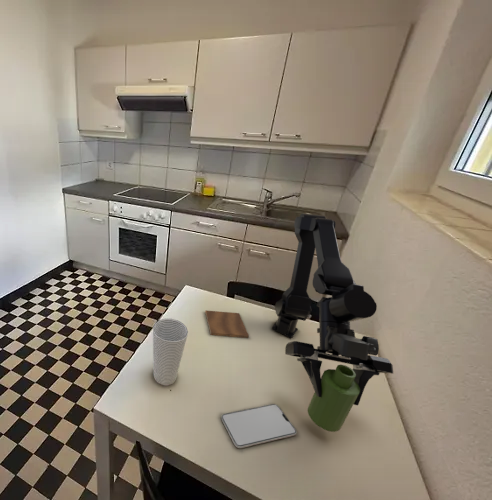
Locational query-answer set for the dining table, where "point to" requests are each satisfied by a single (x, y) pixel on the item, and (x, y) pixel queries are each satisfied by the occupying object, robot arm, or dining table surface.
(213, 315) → the trivet
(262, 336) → the dining table surface
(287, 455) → the dining table surface
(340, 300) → the robot arm
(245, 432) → the smartphone
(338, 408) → the oil bottle
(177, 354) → the cup
